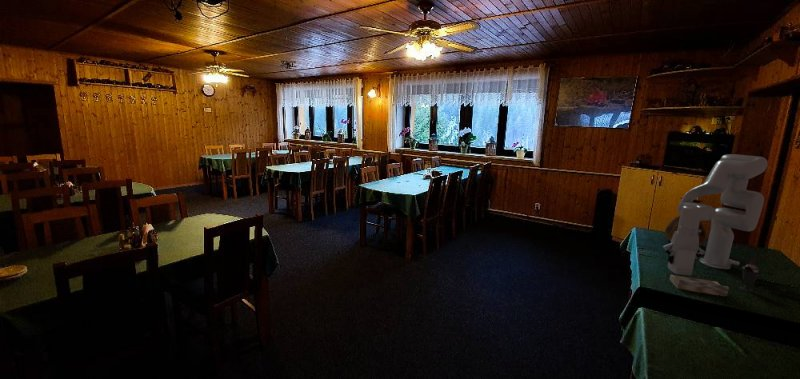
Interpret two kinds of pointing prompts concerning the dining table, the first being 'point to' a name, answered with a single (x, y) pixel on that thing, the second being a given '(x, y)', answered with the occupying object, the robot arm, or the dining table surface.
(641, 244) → the dining table surface
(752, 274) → the sundae
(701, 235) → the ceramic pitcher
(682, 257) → the supplement box
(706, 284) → the display board
